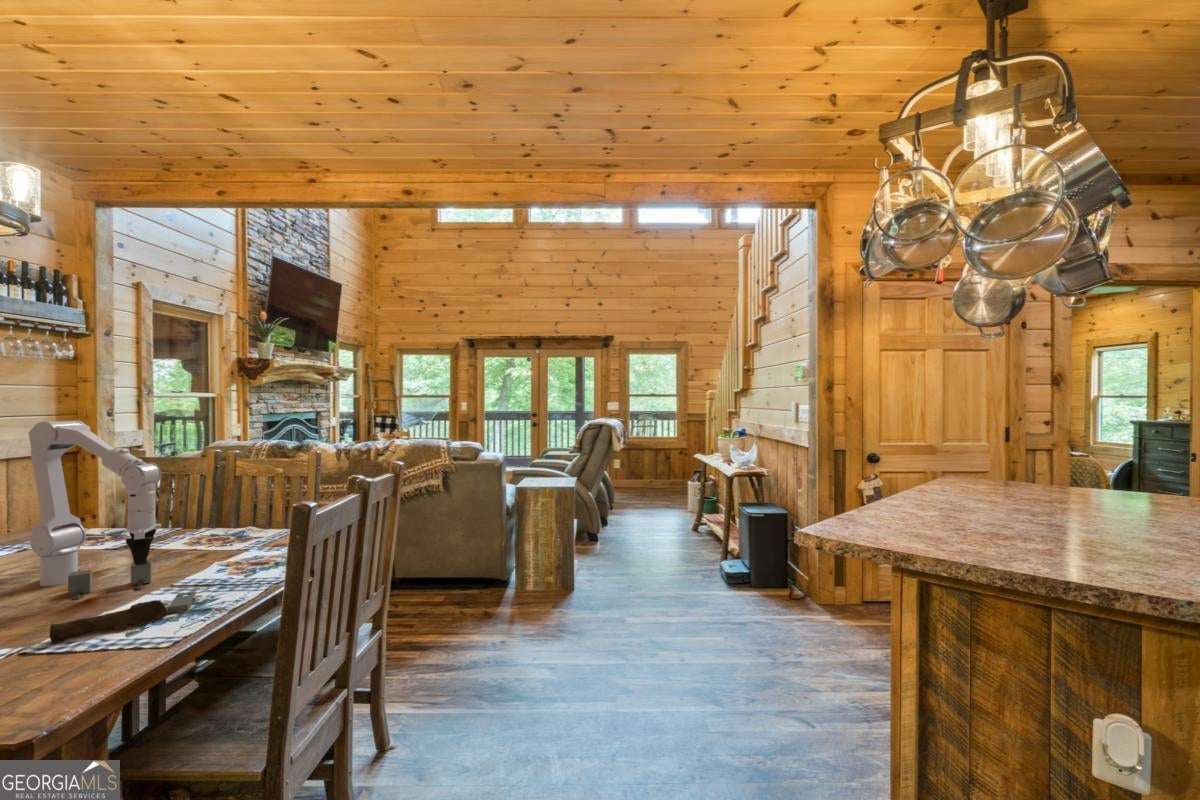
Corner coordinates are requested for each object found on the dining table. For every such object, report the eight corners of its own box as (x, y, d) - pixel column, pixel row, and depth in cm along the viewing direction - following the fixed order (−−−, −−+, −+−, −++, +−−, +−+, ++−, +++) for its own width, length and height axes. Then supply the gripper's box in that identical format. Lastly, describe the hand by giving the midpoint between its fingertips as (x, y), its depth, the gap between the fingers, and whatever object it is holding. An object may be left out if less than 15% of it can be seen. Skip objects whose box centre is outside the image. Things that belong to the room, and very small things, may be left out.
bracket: (167, 615, 129) (167, 607, 129) (177, 601, 138) (177, 593, 138) (188, 612, 131) (188, 604, 131) (196, 598, 140) (196, 590, 140)
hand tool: (48, 647, 112) (49, 624, 112) (50, 640, 115) (50, 618, 115) (167, 622, 125) (167, 601, 125) (165, 616, 128) (165, 596, 128)
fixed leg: (71, 591, 141) (71, 572, 141) (92, 588, 143) (92, 569, 143) (64, 601, 134) (64, 581, 134) (86, 598, 136) (86, 578, 136)
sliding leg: (132, 581, 148) (132, 562, 148) (151, 578, 150) (151, 559, 150) (129, 590, 141) (129, 570, 141) (149, 587, 143) (149, 567, 143)
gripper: (159, 512, 143) (159, 564, 144) (162, 503, 155) (162, 552, 155) (123, 515, 139) (123, 569, 139) (129, 506, 151) (129, 556, 151)
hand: (141, 560), depth 147 cm, fingers open, 7 cm apart
